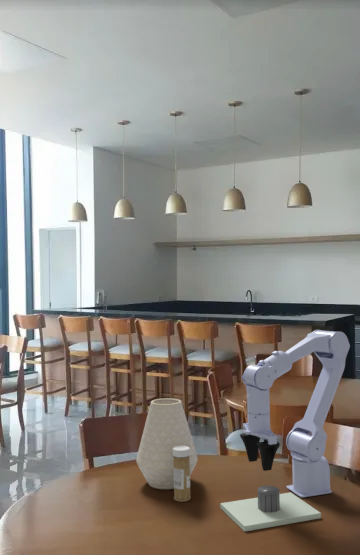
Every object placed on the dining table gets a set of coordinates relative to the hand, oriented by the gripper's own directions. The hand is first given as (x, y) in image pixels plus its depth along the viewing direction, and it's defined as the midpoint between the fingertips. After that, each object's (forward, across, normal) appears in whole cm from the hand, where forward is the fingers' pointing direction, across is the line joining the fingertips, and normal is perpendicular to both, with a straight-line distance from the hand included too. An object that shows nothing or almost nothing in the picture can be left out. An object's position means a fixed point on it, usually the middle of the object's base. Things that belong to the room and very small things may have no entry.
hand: (259, 465), depth 139 cm
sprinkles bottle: (+10, -10, -18) cm, 23 cm away
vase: (+10, -23, -18) cm, 30 cm away
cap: (+8, +7, -1) cm, 11 cm away
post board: (+9, +7, -1) cm, 12 cm away
